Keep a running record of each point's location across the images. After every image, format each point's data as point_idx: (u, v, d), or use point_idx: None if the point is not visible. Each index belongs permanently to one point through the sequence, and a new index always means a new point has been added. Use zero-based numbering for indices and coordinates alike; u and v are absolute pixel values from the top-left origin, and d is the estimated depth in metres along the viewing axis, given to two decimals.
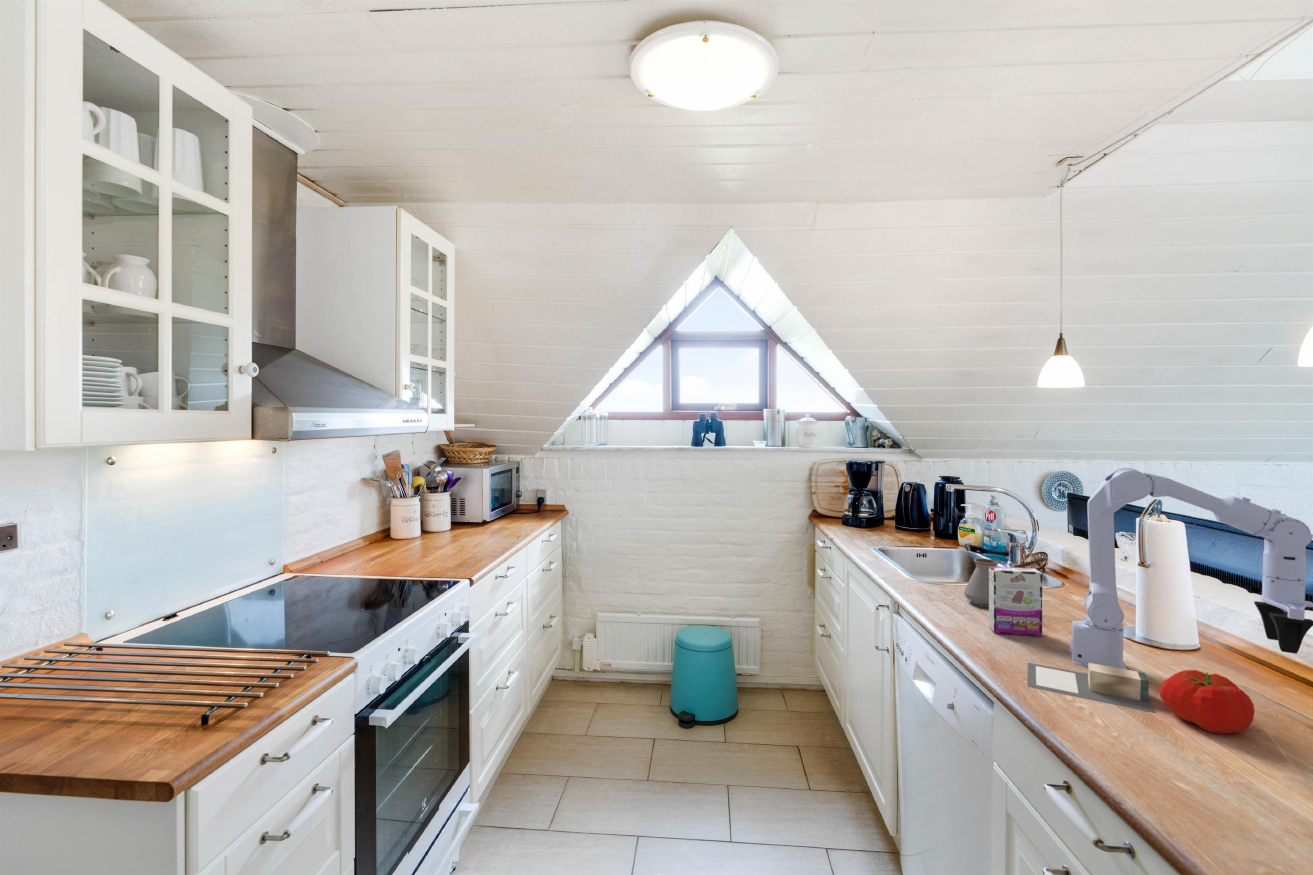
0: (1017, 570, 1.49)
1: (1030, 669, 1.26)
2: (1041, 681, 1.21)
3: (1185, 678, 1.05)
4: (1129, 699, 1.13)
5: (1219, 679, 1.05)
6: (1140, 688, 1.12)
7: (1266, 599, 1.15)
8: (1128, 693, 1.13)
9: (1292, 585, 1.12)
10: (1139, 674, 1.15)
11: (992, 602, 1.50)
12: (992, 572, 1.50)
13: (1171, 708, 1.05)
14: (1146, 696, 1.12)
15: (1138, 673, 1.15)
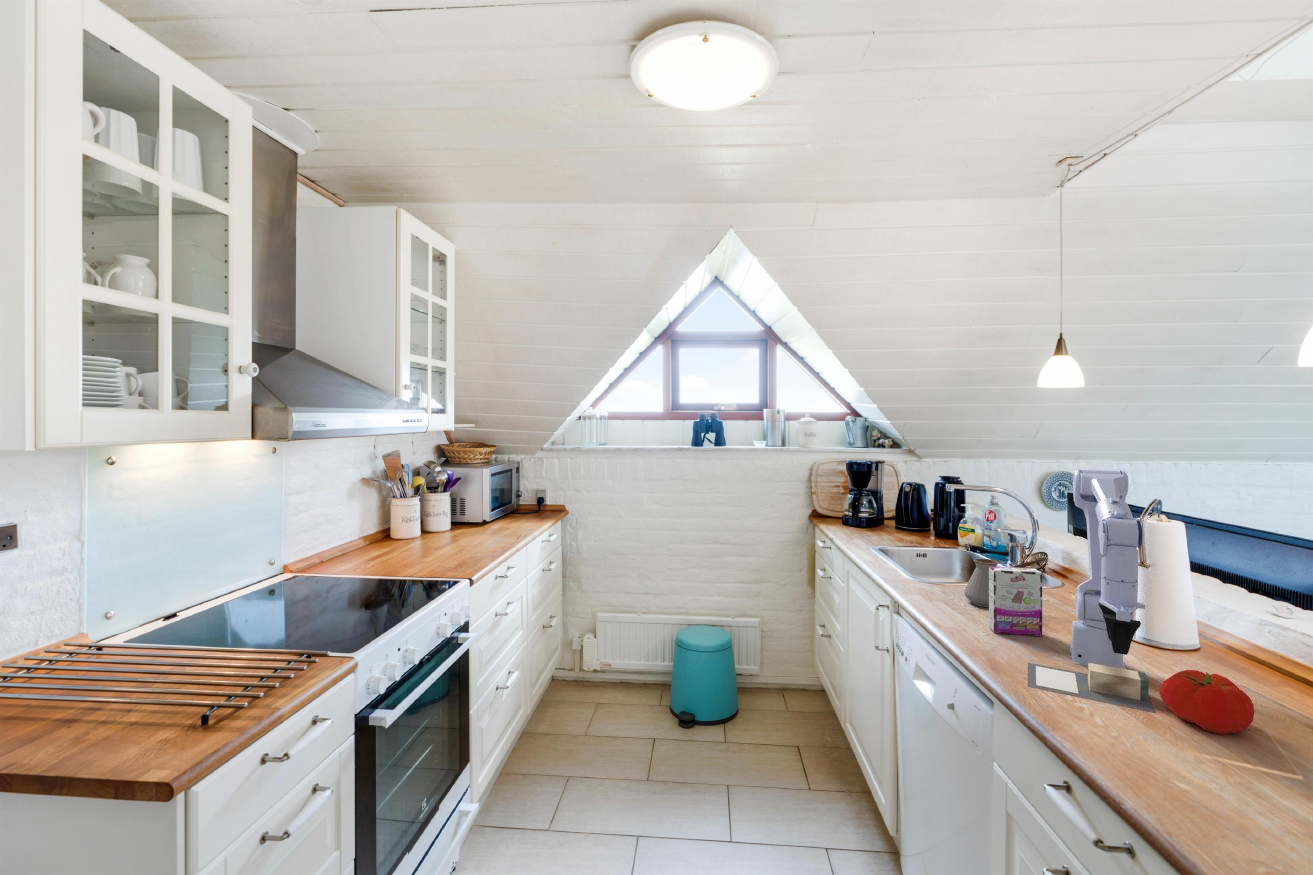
0: (1017, 570, 1.49)
1: (1030, 669, 1.26)
2: (1041, 681, 1.21)
3: (1185, 678, 1.05)
4: (1129, 699, 1.13)
5: (1219, 679, 1.05)
6: (1140, 688, 1.12)
7: (1102, 601, 1.16)
8: (1128, 693, 1.13)
9: (1124, 587, 1.13)
10: (1139, 674, 1.15)
11: (992, 602, 1.50)
12: (992, 572, 1.50)
13: (1171, 708, 1.05)
14: (1146, 696, 1.12)
15: (1138, 673, 1.15)
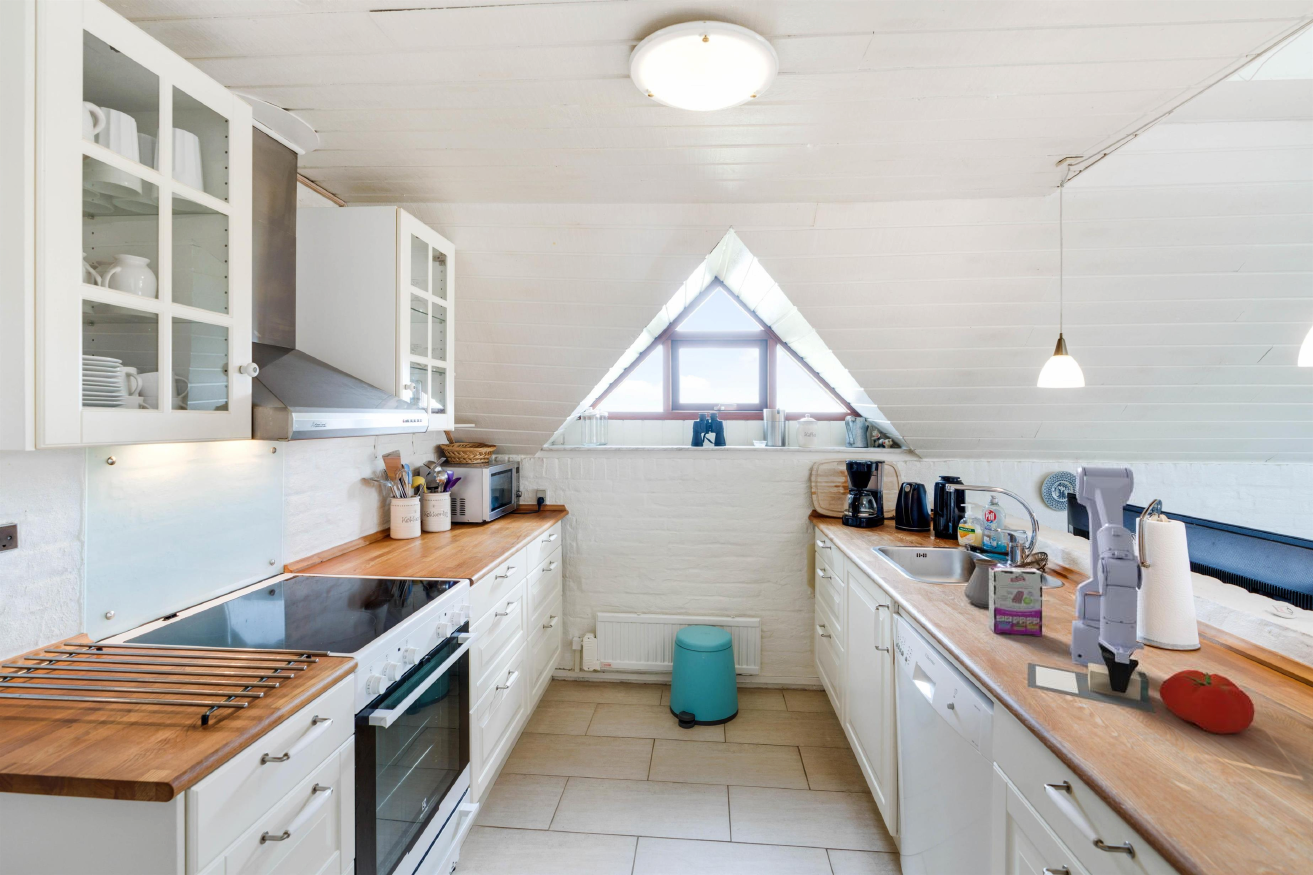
0: (1017, 570, 1.49)
1: (1030, 669, 1.26)
2: (1041, 681, 1.21)
3: (1185, 678, 1.05)
4: (1129, 699, 1.13)
5: (1219, 679, 1.05)
6: (1140, 688, 1.12)
7: (1101, 640, 1.16)
8: (1128, 693, 1.13)
9: (1123, 628, 1.13)
10: (1139, 674, 1.15)
11: (992, 602, 1.50)
12: (992, 572, 1.50)
13: (1171, 708, 1.05)
14: (1146, 696, 1.12)
15: (1138, 673, 1.15)
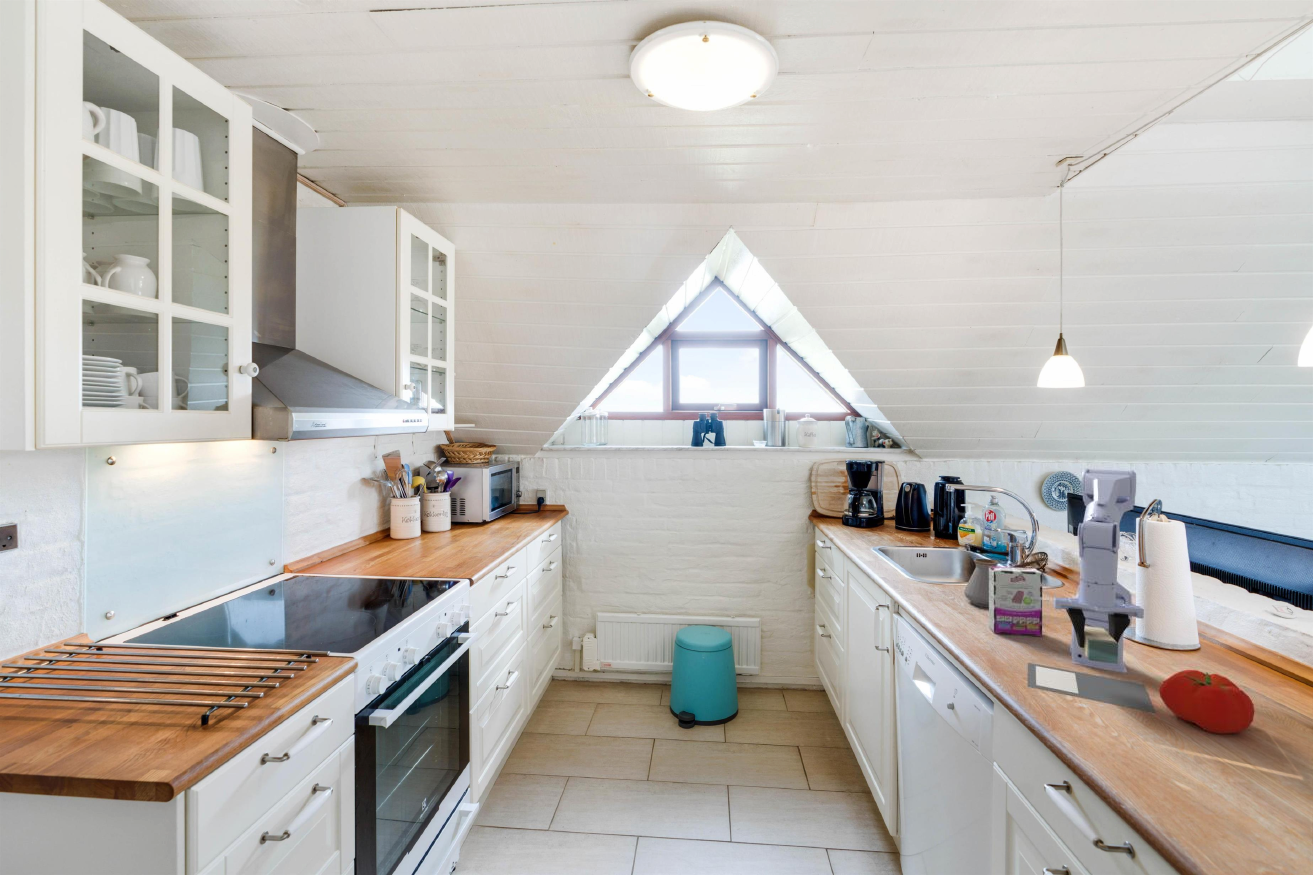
0: (1017, 570, 1.49)
1: (1030, 669, 1.26)
2: (1041, 681, 1.21)
3: (1185, 678, 1.05)
4: (1129, 699, 1.13)
5: (1219, 679, 1.05)
6: (1087, 646, 1.15)
7: None
8: (1084, 650, 1.17)
9: (1081, 584, 1.18)
10: (1106, 640, 1.14)
11: (992, 602, 1.50)
12: (992, 572, 1.50)
13: (1171, 708, 1.05)
14: (1088, 654, 1.15)
15: (1109, 640, 1.14)
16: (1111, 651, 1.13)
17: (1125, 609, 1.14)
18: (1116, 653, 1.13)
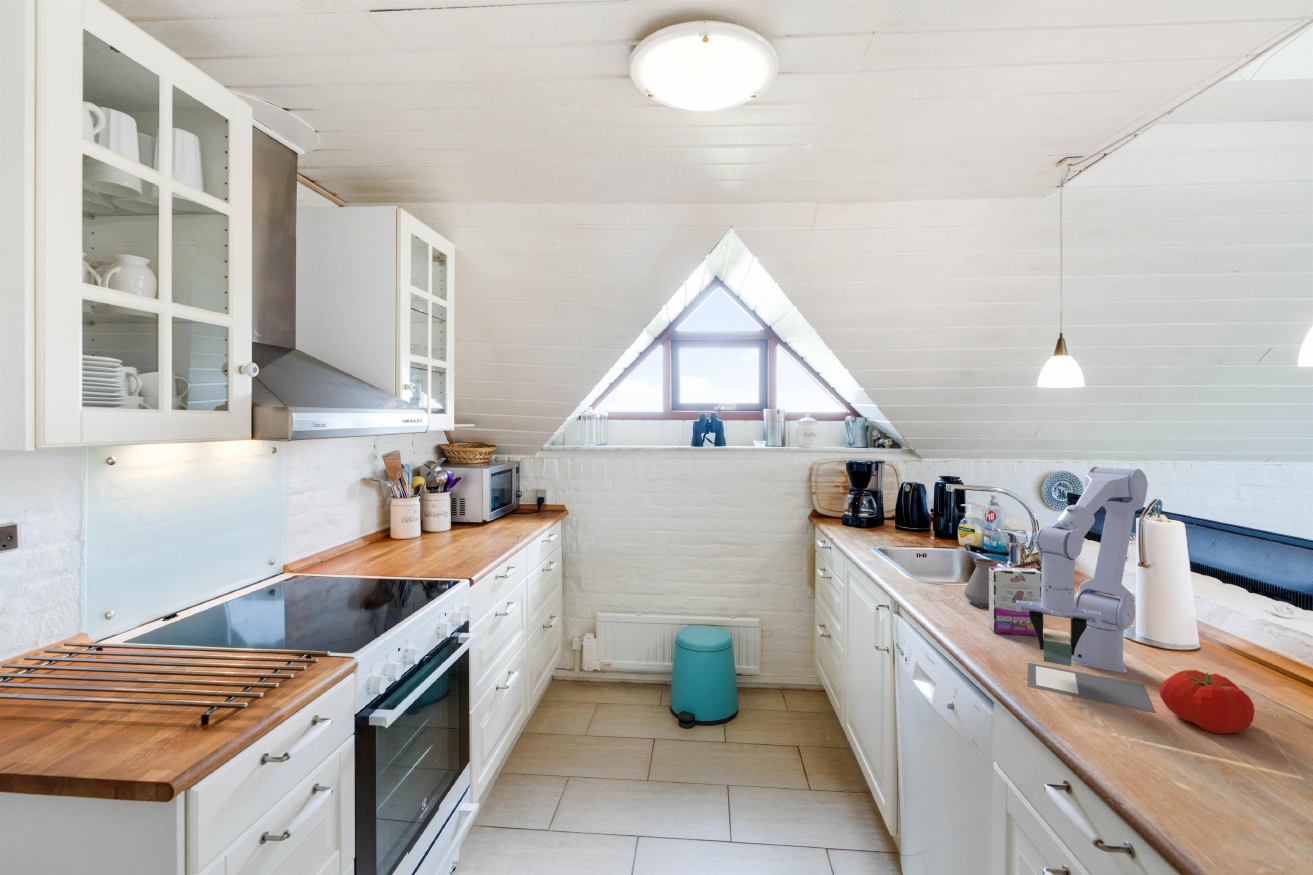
0: (1017, 570, 1.49)
1: (1030, 669, 1.26)
2: (1041, 681, 1.21)
3: (1185, 678, 1.05)
4: (1129, 699, 1.13)
5: (1219, 679, 1.05)
6: None
7: None
8: None
9: (1041, 588, 1.22)
10: (1062, 643, 1.18)
11: (992, 602, 1.50)
12: (992, 572, 1.50)
13: (1171, 708, 1.05)
14: None
15: (1064, 643, 1.18)
16: (1065, 653, 1.17)
17: (1082, 614, 1.17)
18: (1070, 656, 1.16)
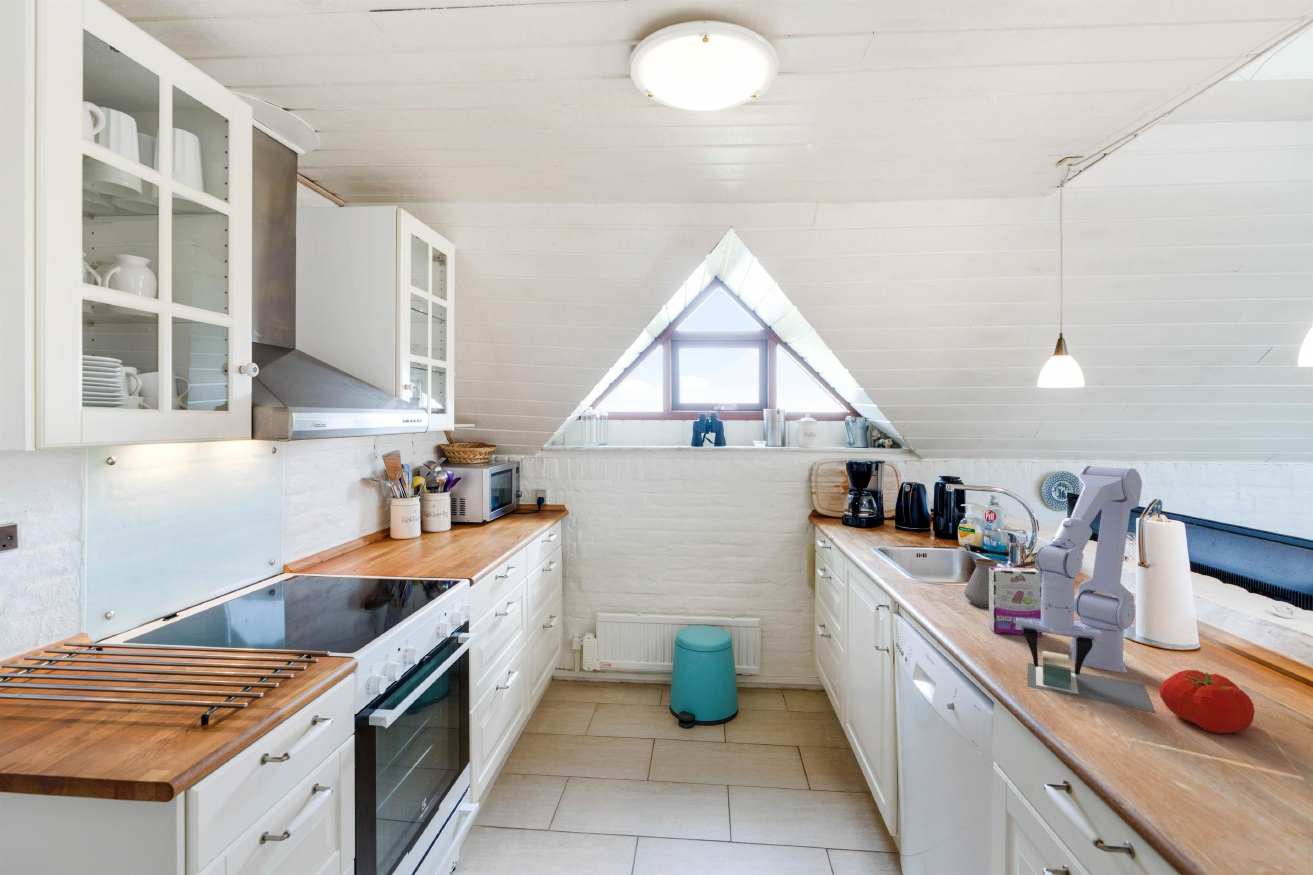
0: (1017, 570, 1.49)
1: (1030, 669, 1.26)
2: (1041, 681, 1.21)
3: (1185, 678, 1.05)
4: (1129, 699, 1.13)
5: (1219, 679, 1.05)
6: None
7: None
8: None
9: (1041, 607, 1.22)
10: (1061, 666, 1.18)
11: (992, 602, 1.50)
12: (992, 572, 1.50)
13: (1171, 708, 1.05)
14: (1043, 679, 1.19)
15: (1064, 667, 1.18)
16: (1064, 677, 1.17)
17: (1082, 632, 1.18)
18: (1069, 679, 1.16)
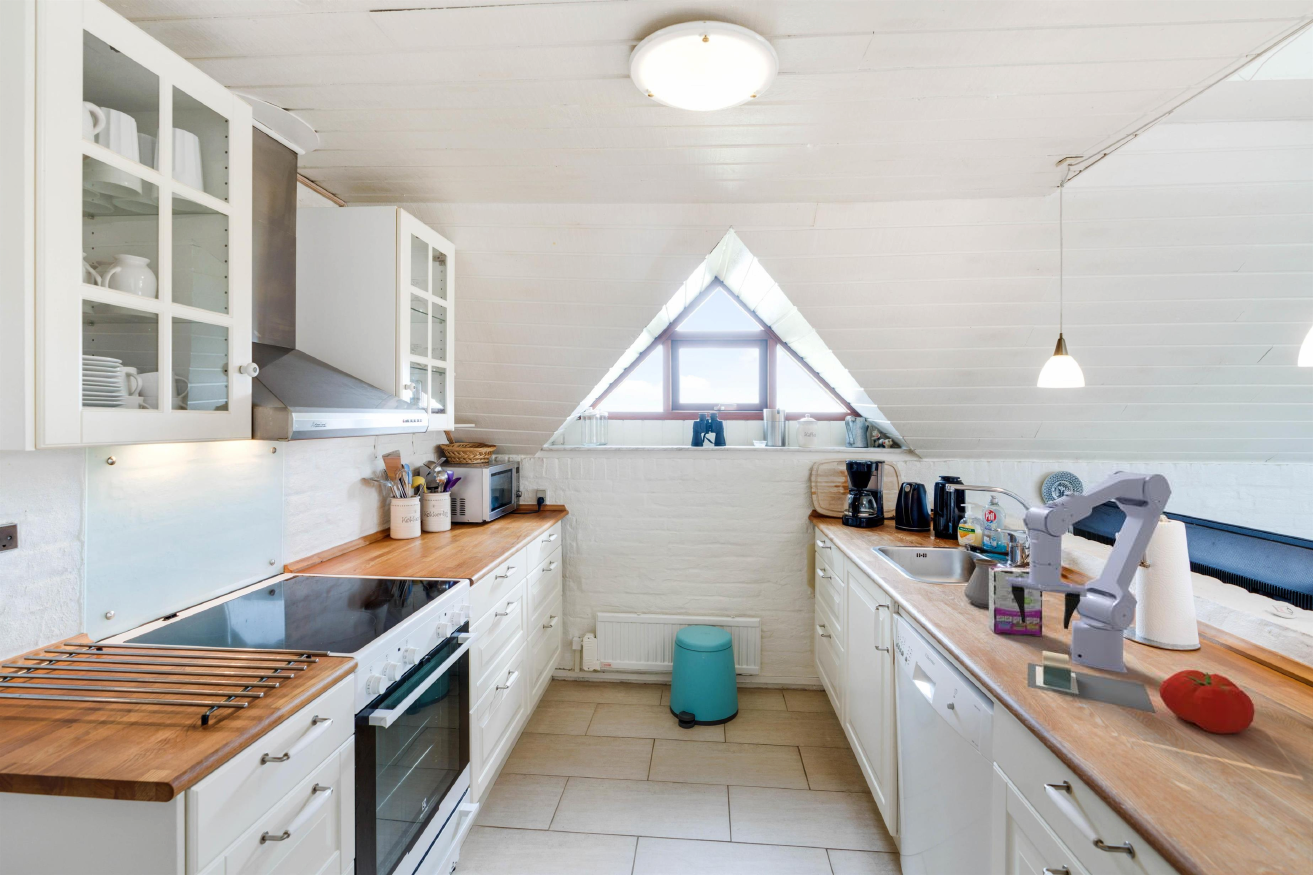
0: (1017, 570, 1.49)
1: (1030, 669, 1.26)
2: (1041, 681, 1.21)
3: (1185, 678, 1.05)
4: (1129, 699, 1.13)
5: (1219, 679, 1.05)
6: None
7: None
8: None
9: None
10: (1061, 666, 1.18)
11: (992, 602, 1.50)
12: (992, 572, 1.50)
13: (1171, 708, 1.05)
14: (1043, 679, 1.19)
15: (1064, 667, 1.18)
16: (1064, 677, 1.17)
17: (1068, 588, 1.23)
18: (1069, 679, 1.16)
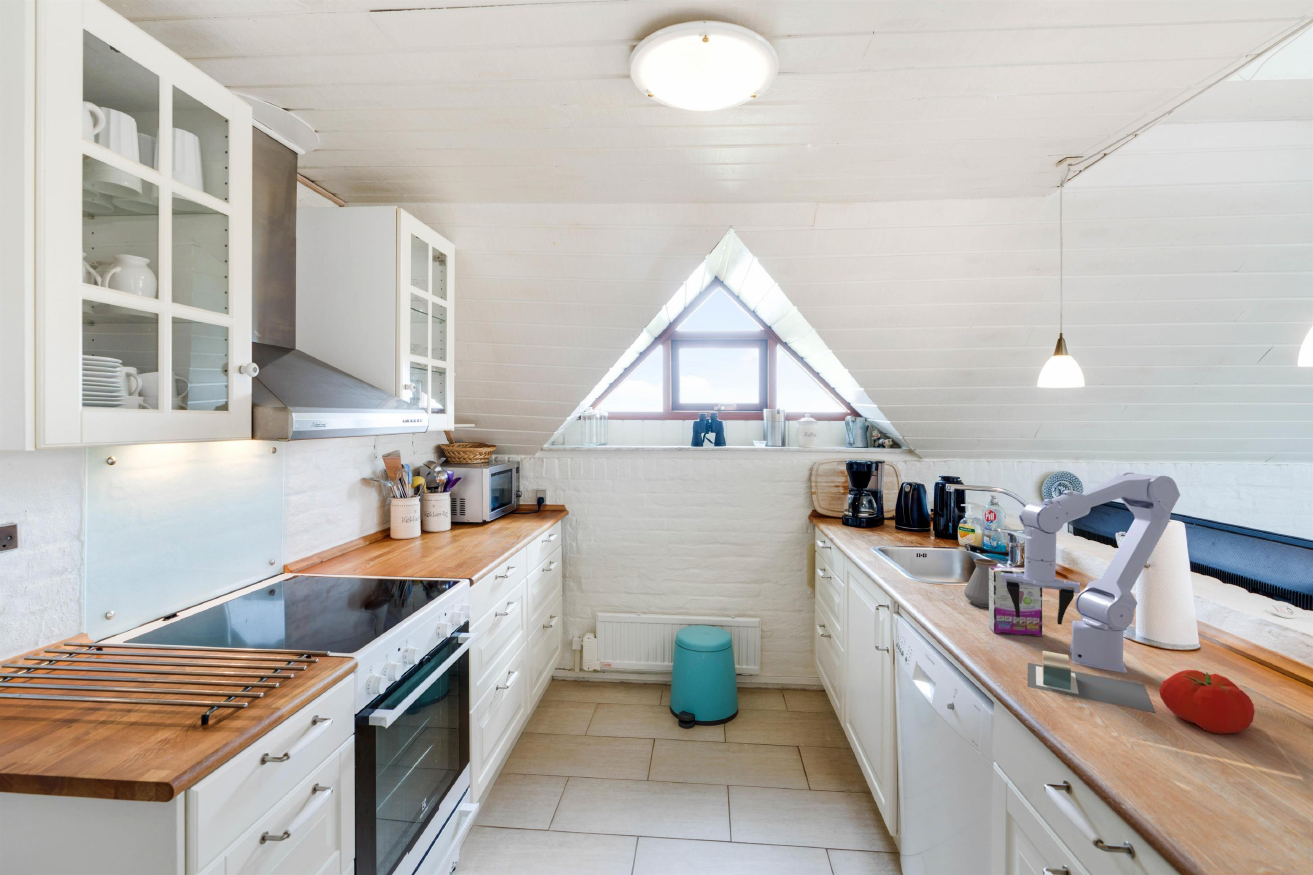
0: (1017, 570, 1.49)
1: (1030, 669, 1.26)
2: (1041, 681, 1.21)
3: (1185, 678, 1.05)
4: (1129, 699, 1.13)
5: (1219, 679, 1.05)
6: None
7: None
8: None
9: None
10: (1061, 666, 1.18)
11: (992, 602, 1.50)
12: (992, 572, 1.50)
13: (1171, 708, 1.05)
14: (1043, 679, 1.19)
15: (1064, 667, 1.18)
16: (1064, 677, 1.17)
17: (1062, 584, 1.25)
18: (1069, 679, 1.16)
